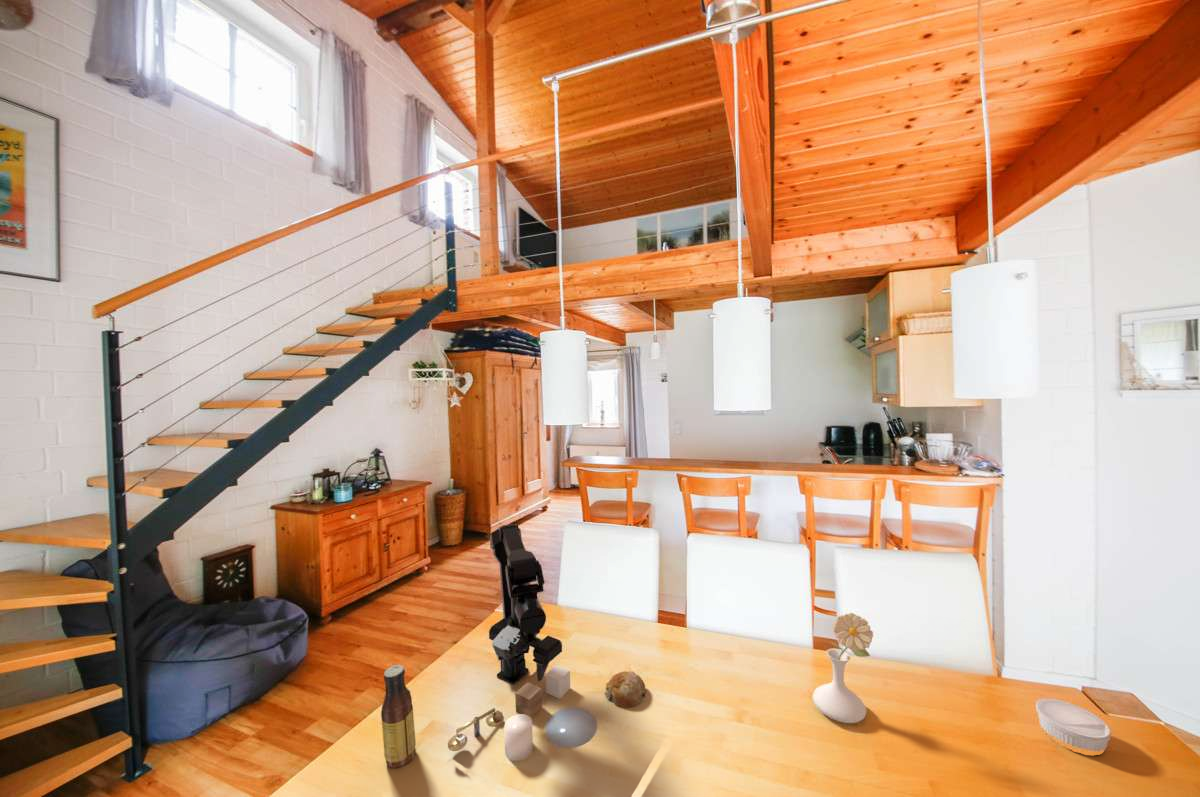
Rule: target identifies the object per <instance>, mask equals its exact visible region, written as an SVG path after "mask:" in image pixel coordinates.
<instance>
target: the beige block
mask: <svg viewBox="0 0 1200 797" xmlns="http://www.w3.org/2000/svg"><path fill="white" fill-rule="evenodd" d="M544 676H545V693H546V694H548V695H551V696H553V697H555V698H556V699H561V698H563V697H564V695H565V694H566V693H567V692H568V691H569V690H570V689H571V670H570V669H568V668H566V667H564V666H563V667H562V666H560V665H557V664H555V665H554V666H553V667H552V668H551V669H550V670H549V671H547V673H546V672H545V674H544Z"/></svg>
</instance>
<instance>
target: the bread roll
mask: <svg viewBox="0 0 1200 797" xmlns="http://www.w3.org/2000/svg"><path fill="white" fill-rule="evenodd" d="M605 686H606V687H605V692H604V695H605V697H606V699H609V700H610V701H611V703H613V704H614V705H615V706H616V707H619V708H623V709H628V708H629V709H630V708H633V707H637V706H639V705H641V704H642V701H643V698H644V697H646V696H645V695H646V685H645V681H644V680H643V679H642V678H641V676H640V675H639V674H636V673H635V671H631V670H630V671H628V670H627V671H626V670H624V671H621V672H618V673H615V674H614V675H613V676H612V677H611V678H610V680H609V681H608V682H606V684H605Z"/></svg>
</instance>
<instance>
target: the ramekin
mask: <svg viewBox="0 0 1200 797" xmlns="http://www.w3.org/2000/svg"><path fill="white" fill-rule="evenodd" d="M1035 710H1036V712H1037V715H1038V721H1039V726H1040V725H1041V726H1040V728H1041V727H1042V728H1043V729H1044V730H1045V731H1046V732H1047V733H1048V734H1050V735H1052V736H1054V737H1055V738H1057V739H1059V740H1060V741H1062V742H1065V743H1067V744H1070V745H1072V746H1075V747H1078V748H1082V749H1086V750H1092V751H1101V750H1104V749H1105V748H1106V749H1107V746H1108V743H1109V741H1110V739H1111V738H1112V734H1111V733H1112V732H1111V729H1110V727H1109V725H1108V724H1107V723H1106V722H1105V721H1104V720H1103V719H1101V718H1100V717H1098V716H1097V715H1095V714H1094V713H1092V712H1090V711H1089V710H1087V709H1085V708H1083V707H1081V706H1078V705H1076V704H1073V703H1071V702H1067V701H1065V700H1060V699H1055V698H1040V699H1038V700H1036V703H1035Z"/></svg>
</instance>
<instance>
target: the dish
mask: <svg viewBox="0 0 1200 797" xmlns="http://www.w3.org/2000/svg"><path fill="white" fill-rule="evenodd" d="M597 727H598V724H597V720H596V717H595V716H594V715H593V713H591V712H590V711H589V710H587V709H585V708H583V707H577V706H572V707H571V706H570V707H565V708H561V709H559V710H558V711H555V712H554V713H553V714H552V715H551V716H549V718H548V719H547V721H546V724H545V727H544V730H545V735H546V737H547V739H548V741H550V743H552V744H553V745H554V746H557V747H559V748H560V747H561V748H563V749H564V748H565V749H573V748H577V747H581V746H583V745H585V744H587V743H588V742H590V741H591V740H592V738H593V737H594V736H595V734H596V733H597V729H598V728H597Z"/></svg>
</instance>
